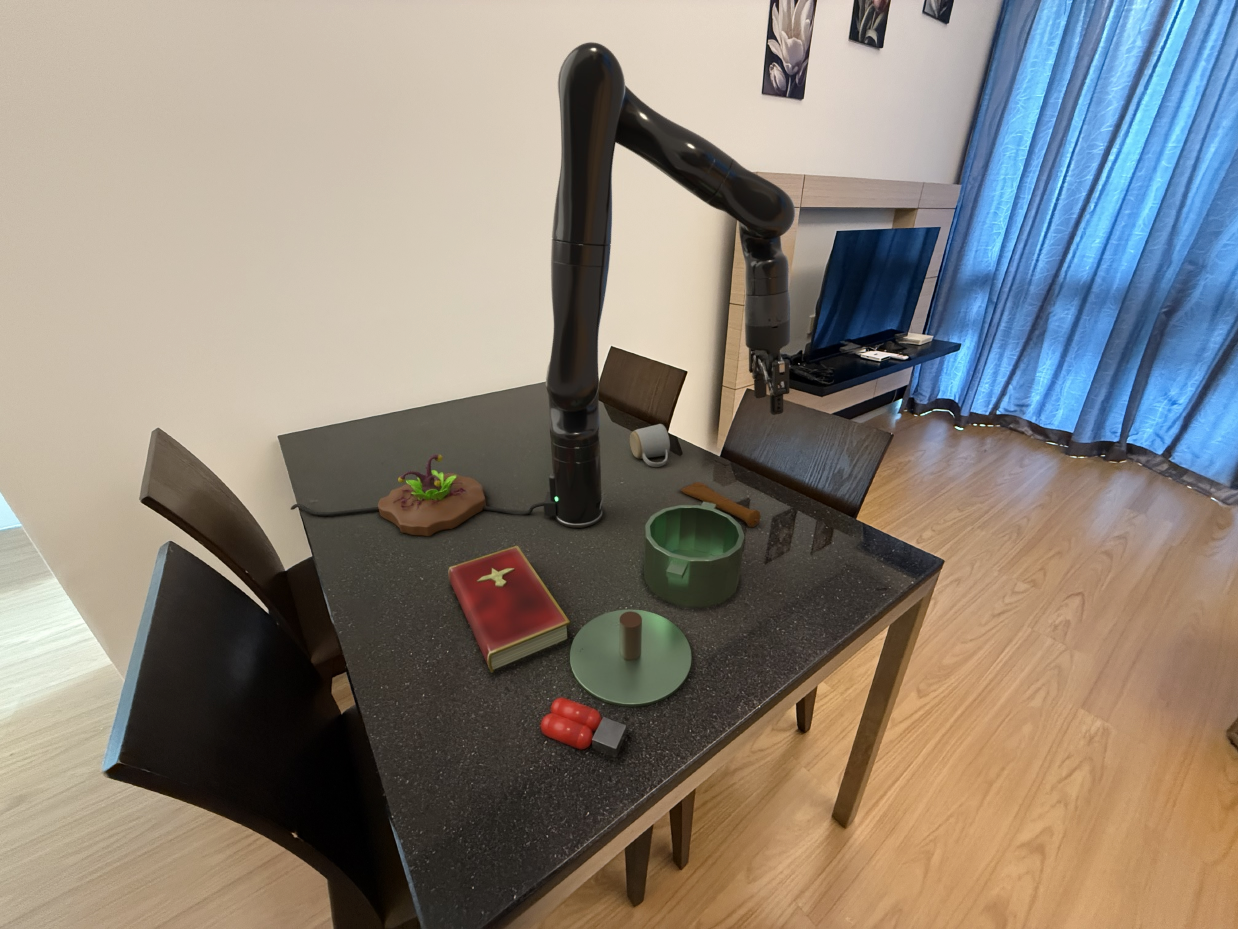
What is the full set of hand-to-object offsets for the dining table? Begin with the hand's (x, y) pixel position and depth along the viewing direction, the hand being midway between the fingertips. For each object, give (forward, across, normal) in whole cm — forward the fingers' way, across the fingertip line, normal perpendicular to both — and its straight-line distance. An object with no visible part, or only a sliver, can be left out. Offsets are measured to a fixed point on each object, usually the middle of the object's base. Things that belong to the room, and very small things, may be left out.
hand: (768, 405), depth 98 cm
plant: (+13, -8, -68) cm, 70 cm away
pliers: (+17, +48, -40) cm, 65 cm away
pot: (+20, +20, -21) cm, 35 cm away
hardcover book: (+16, +26, -51) cm, 59 cm away
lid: (+17, +37, -33) cm, 52 cm away
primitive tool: (+21, -1, -11) cm, 24 cm away
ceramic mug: (+20, -25, -20) cm, 38 cm away
